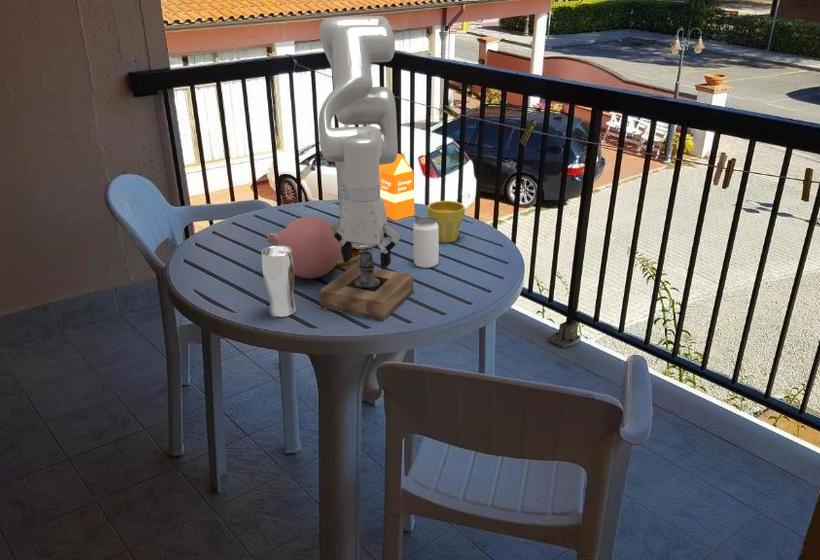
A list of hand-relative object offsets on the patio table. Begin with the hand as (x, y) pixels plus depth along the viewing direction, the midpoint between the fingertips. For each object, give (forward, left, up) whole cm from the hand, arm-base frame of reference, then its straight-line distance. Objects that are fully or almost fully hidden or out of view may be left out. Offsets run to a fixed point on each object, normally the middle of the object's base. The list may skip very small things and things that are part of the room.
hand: (366, 263), depth 157 cm
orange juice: (-20, +57, -9) cm, 61 cm away
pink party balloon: (-22, +7, -9) cm, 24 cm away
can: (+4, +25, -9) cm, 27 cm away
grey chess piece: (0, 0, -8) cm, 8 cm away
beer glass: (-15, -13, -9) cm, 22 cm away
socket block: (0, 0, -9) cm, 9 cm away
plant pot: (+2, +44, -9) cm, 45 cm away
